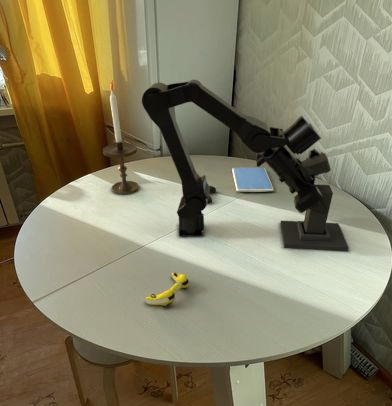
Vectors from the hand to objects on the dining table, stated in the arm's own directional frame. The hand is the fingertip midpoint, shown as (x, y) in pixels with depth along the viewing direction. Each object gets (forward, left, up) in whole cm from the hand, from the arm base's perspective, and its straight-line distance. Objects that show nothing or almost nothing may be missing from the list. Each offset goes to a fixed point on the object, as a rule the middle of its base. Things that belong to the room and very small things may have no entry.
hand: (323, 207), depth 91 cm
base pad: (-1, 0, -9) cm, 9 cm away
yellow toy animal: (-39, -21, -9) cm, 45 cm away
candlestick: (-56, +33, -9) cm, 66 cm away
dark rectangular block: (-1, 0, -7) cm, 7 cm away
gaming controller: (-29, +25, -9) cm, 40 cm away
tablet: (-12, +37, -9) cm, 40 cm away
